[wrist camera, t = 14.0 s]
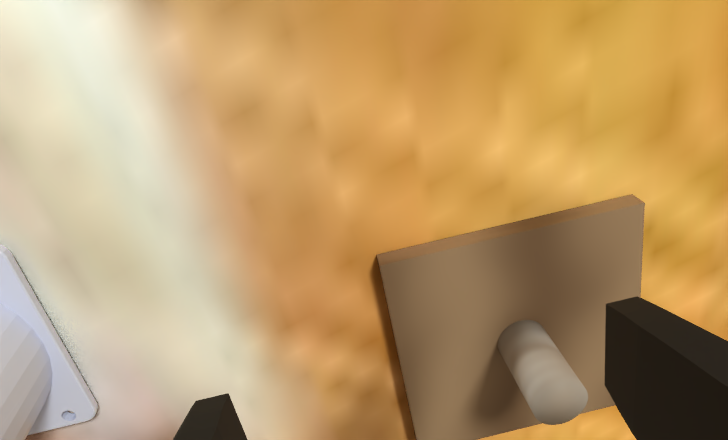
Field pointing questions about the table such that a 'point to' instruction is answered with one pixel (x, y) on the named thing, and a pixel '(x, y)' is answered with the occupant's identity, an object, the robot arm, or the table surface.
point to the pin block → (511, 318)
